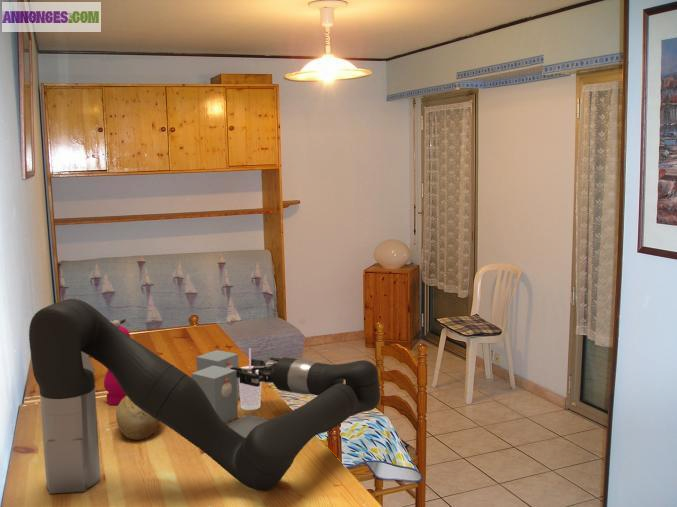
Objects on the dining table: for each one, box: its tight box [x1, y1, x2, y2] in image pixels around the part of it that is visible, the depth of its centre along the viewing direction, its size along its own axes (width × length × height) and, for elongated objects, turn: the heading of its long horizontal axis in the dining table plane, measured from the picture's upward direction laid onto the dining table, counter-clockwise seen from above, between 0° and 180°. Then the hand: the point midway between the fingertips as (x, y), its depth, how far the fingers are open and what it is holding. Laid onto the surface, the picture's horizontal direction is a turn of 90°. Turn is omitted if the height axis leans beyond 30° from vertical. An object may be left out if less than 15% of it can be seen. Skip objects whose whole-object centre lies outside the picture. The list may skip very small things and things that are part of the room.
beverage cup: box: [239, 347, 262, 411], centre depth 163 cm, size 6×6×14 cm
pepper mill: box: [103, 319, 131, 406], centre depth 168 cm, size 7×7×20 cm
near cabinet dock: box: [190, 365, 269, 438], centre depth 152 cm, size 19×11×11 cm, turn 56°
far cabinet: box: [196, 349, 240, 400], centre depth 168 cm, size 8×7×11 cm
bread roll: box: [115, 396, 161, 441], centre depth 151 cm, size 10×15×8 cm, turn 19°
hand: (240, 367), depth 164 cm, fingers closed on beverage cup, 6 cm apart
